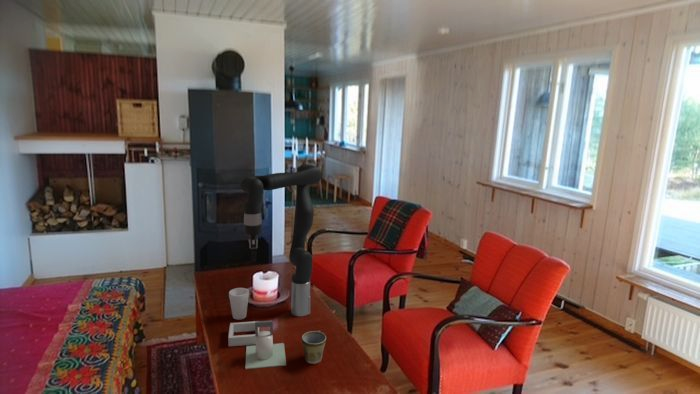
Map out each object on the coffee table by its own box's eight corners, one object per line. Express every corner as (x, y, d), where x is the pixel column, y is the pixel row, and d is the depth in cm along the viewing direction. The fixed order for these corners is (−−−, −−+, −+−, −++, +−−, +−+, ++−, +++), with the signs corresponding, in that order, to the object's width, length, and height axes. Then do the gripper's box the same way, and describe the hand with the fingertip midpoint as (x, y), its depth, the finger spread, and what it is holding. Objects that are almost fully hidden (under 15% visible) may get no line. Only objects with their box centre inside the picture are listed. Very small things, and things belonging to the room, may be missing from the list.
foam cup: (251, 312, 210) (251, 288, 208) (245, 321, 201) (245, 296, 199) (233, 311, 211) (233, 287, 209) (226, 320, 202) (225, 295, 200)
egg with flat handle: (255, 351, 177) (255, 318, 174) (272, 349, 178) (272, 317, 175) (255, 360, 170) (255, 326, 167) (273, 359, 171) (272, 325, 169)
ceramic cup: (322, 368, 168) (322, 345, 166) (298, 364, 170) (298, 341, 168) (330, 350, 180) (330, 329, 178) (307, 347, 182) (308, 326, 180)
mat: (283, 343, 184) (283, 343, 184) (286, 365, 169) (286, 364, 168) (246, 346, 180) (246, 346, 180) (245, 369, 165) (245, 368, 165)
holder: (259, 328, 195) (259, 321, 195) (259, 344, 183) (259, 335, 182) (230, 331, 193) (230, 323, 192) (228, 346, 180) (228, 338, 179)
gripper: (262, 226, 177) (262, 262, 181) (261, 218, 191) (261, 251, 194) (243, 227, 176) (245, 264, 179) (244, 218, 189) (245, 252, 193)
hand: (253, 257), depth 187 cm, fingers open, 8 cm apart
